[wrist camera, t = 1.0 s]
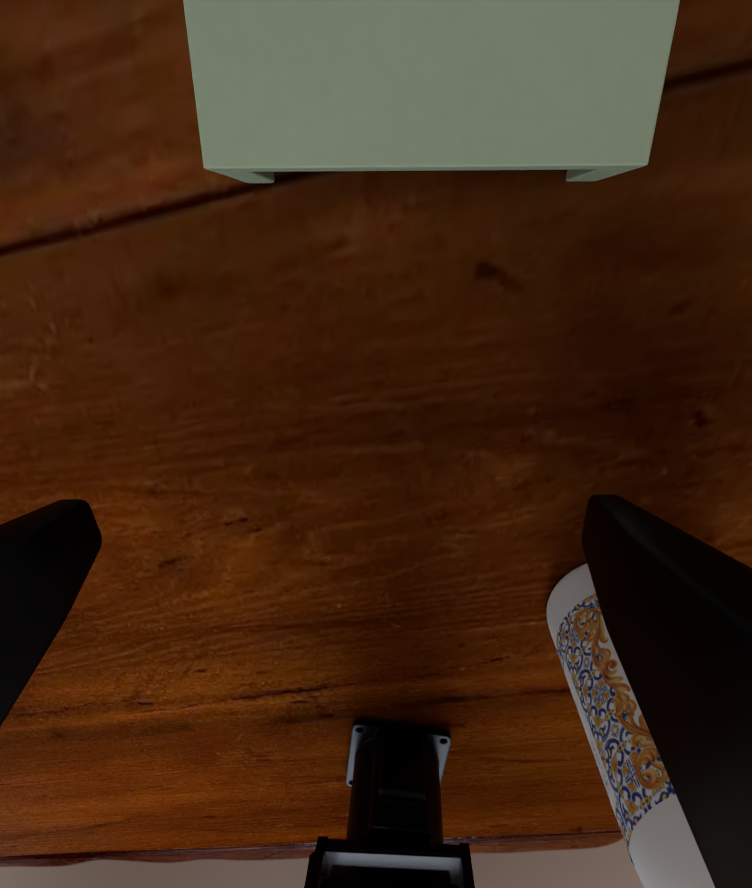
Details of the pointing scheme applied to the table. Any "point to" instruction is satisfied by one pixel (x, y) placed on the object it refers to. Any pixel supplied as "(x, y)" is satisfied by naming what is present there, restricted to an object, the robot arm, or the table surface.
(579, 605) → the bath foam
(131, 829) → the table surface
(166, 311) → the table surface
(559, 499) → the table surface
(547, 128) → the green chair-shaped stand
